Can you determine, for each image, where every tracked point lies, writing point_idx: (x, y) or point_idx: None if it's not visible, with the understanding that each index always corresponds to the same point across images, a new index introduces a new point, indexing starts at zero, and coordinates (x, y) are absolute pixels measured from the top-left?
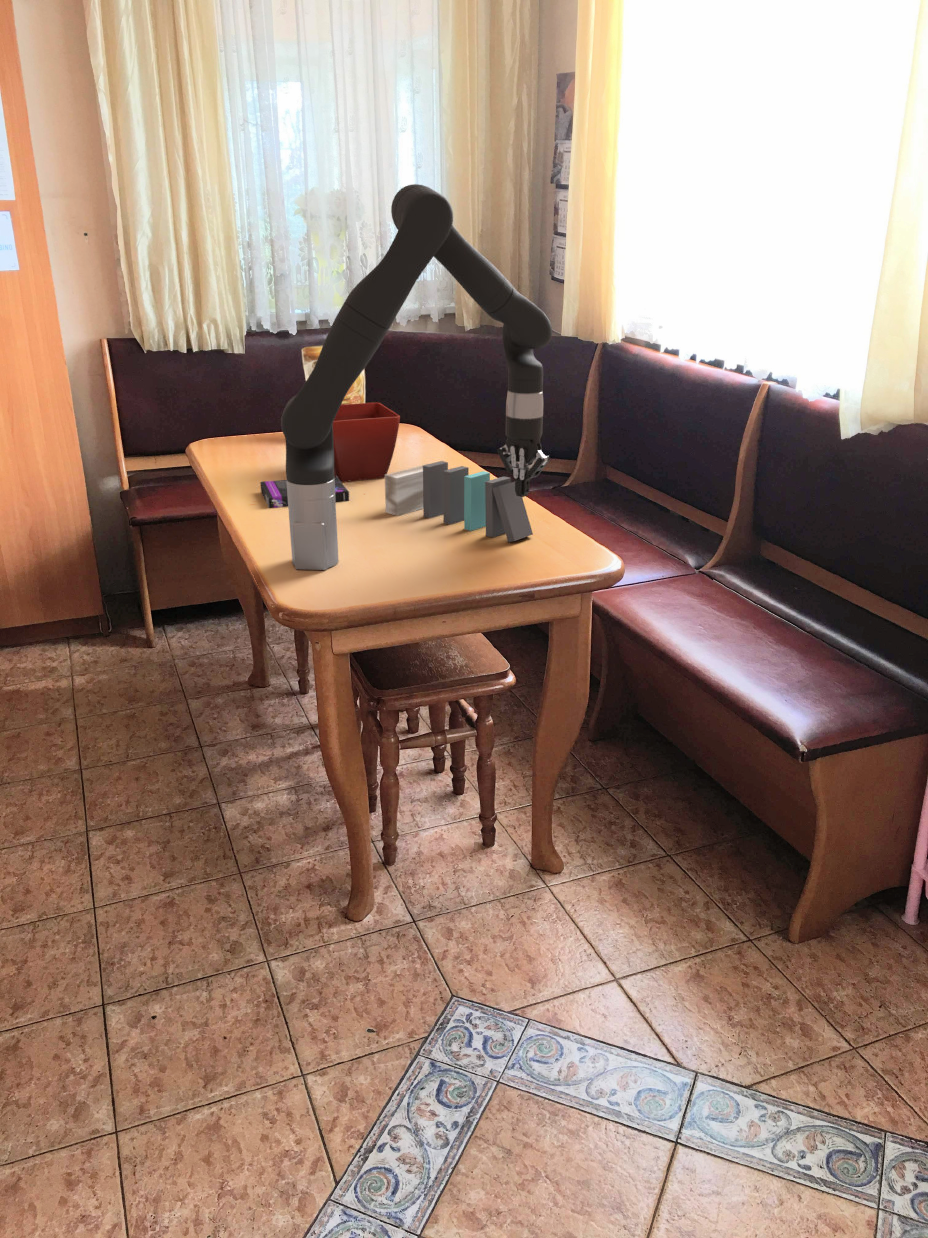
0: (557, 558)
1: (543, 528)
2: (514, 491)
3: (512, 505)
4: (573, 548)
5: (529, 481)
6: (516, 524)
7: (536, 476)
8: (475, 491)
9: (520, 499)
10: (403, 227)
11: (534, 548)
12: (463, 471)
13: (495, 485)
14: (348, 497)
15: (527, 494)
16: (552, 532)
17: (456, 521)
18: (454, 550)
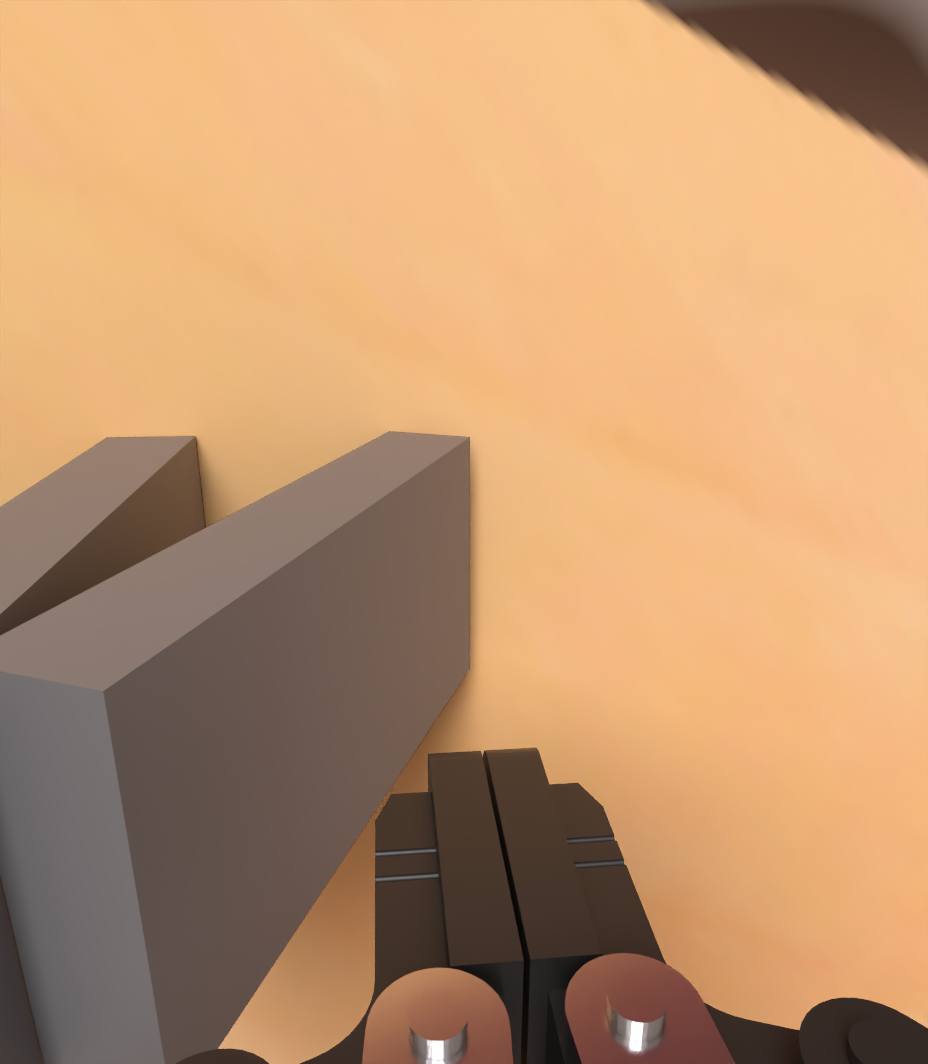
0: (891, 643)
1: (343, 116)
2: (234, 737)
3: (336, 743)
4: (884, 386)
5: (657, 951)
6: (422, 655)
7: (876, 1020)
8: None
9: (305, 602)
10: None
11: (638, 608)
12: None
13: (16, 1029)
14: None
15: (534, 752)
16: (493, 157)
17: None
18: (253, 1005)
